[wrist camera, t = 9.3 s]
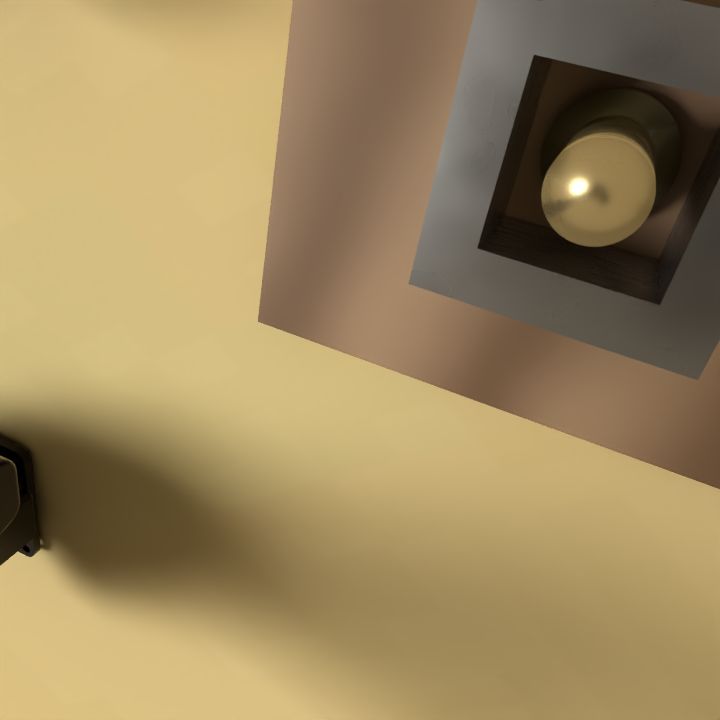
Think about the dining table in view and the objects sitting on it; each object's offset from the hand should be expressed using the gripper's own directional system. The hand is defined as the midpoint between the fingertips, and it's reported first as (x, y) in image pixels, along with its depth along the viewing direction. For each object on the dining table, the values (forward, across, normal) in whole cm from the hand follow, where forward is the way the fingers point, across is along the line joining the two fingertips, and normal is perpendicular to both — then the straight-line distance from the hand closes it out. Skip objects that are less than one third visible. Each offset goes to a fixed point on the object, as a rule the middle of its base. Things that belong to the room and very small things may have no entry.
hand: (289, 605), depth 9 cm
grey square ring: (+10, -2, -5) cm, 11 cm away
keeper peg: (+10, -2, -5) cm, 11 cm away
